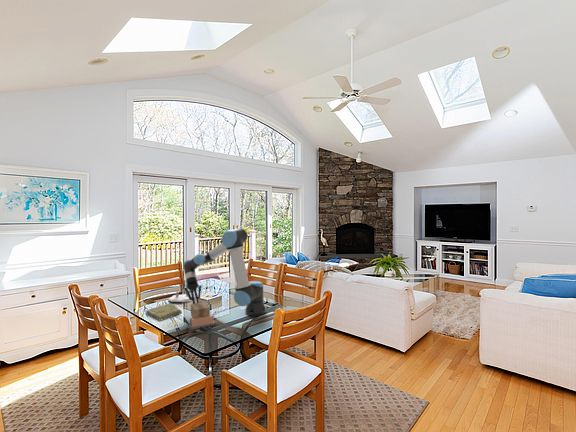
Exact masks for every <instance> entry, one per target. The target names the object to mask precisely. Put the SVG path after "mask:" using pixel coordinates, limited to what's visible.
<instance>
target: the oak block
mask: <svg viewBox="0 0 576 432" xmlns="http://www.w3.org/2000/svg"><path fill="white" fill-rule="evenodd" d="M210 310H211V309H210V306H209V305H208V304H207V302H206V301H203V302H198V303H196V304H193V303H191V304H190V315H191V316H192V318H190V321H192V319H193V318H199V317H204V316H209V315H211V313H210V312H211V311H210Z"/></svg>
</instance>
